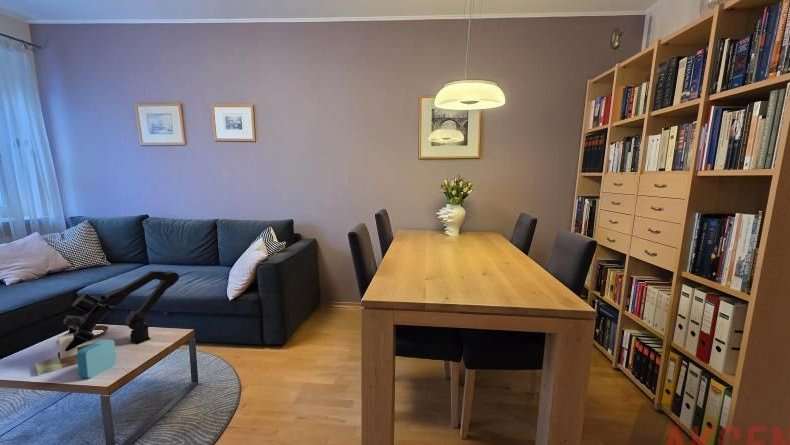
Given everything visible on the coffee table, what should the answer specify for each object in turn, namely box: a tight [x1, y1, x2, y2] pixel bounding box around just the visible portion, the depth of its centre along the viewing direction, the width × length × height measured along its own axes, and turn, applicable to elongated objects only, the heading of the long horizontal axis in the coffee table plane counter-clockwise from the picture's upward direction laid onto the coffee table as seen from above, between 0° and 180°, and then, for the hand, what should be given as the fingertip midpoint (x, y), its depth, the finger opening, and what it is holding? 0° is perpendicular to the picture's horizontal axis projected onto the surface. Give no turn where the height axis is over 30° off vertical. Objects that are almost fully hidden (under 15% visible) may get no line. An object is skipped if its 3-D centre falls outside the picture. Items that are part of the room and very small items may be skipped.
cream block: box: [57, 333, 78, 359], centre depth 145 cm, size 5×5×10 cm
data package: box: [77, 338, 117, 379], centre depth 138 cm, size 12×4×12 cm, turn 173°
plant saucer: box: [62, 324, 109, 341], centre depth 169 cm, size 18×18×3 cm
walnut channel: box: [34, 341, 97, 377], centre depth 147 cm, size 23×10×4 cm, turn 142°
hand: (64, 347), depth 144 cm, fingers open, 9 cm apart
